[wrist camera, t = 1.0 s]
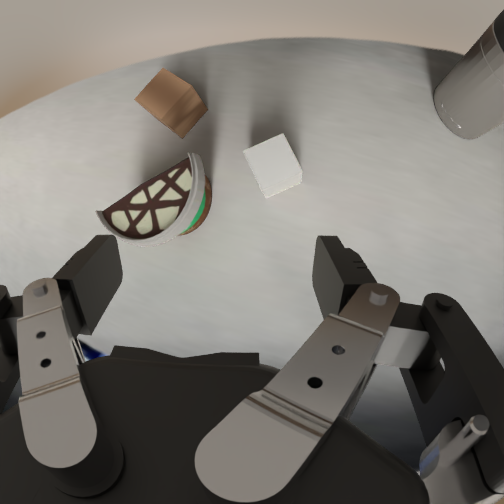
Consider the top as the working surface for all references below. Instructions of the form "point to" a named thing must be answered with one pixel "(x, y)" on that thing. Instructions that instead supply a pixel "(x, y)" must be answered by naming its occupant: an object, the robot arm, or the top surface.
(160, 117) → the walnut block
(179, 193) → the food container
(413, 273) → the top surface
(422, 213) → the top surface
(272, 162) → the grey plastic block
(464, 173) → the top surface
